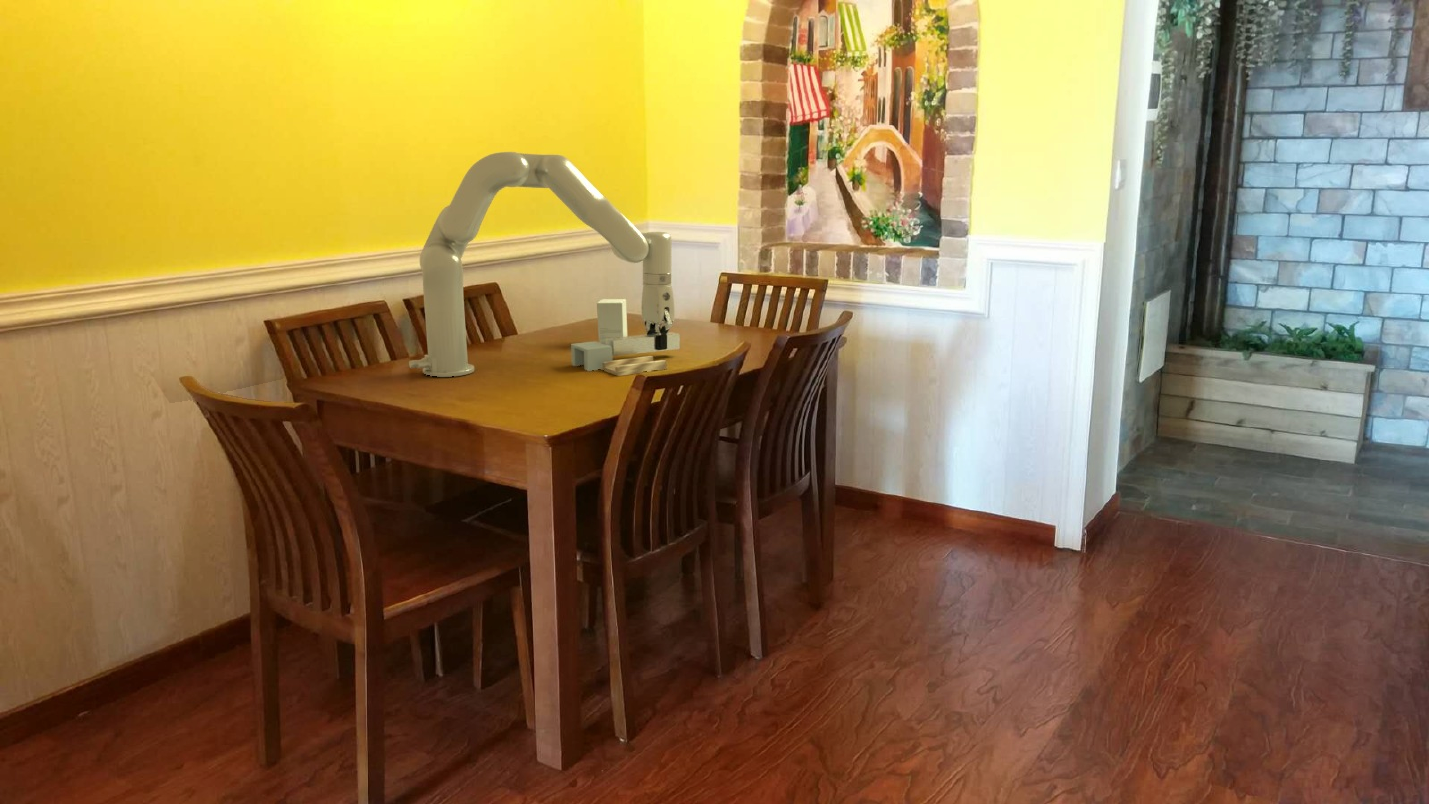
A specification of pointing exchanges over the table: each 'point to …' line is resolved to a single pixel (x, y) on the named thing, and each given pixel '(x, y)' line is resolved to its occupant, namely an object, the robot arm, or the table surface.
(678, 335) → the bar
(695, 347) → the table surface
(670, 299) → the robot arm
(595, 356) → the grey arch block
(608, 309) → the supplement box
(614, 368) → the cradle
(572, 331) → the table surface
